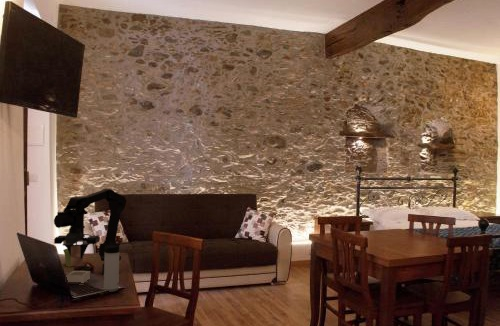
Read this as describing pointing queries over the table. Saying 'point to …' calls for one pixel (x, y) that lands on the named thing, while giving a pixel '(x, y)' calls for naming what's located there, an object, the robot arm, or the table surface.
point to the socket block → (78, 276)
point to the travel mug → (111, 267)
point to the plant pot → (67, 257)
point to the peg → (76, 255)
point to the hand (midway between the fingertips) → (76, 258)
